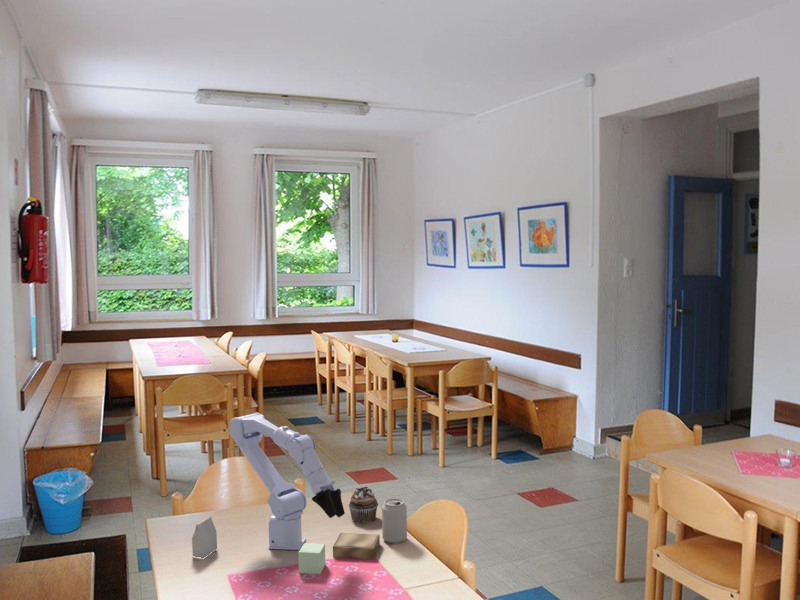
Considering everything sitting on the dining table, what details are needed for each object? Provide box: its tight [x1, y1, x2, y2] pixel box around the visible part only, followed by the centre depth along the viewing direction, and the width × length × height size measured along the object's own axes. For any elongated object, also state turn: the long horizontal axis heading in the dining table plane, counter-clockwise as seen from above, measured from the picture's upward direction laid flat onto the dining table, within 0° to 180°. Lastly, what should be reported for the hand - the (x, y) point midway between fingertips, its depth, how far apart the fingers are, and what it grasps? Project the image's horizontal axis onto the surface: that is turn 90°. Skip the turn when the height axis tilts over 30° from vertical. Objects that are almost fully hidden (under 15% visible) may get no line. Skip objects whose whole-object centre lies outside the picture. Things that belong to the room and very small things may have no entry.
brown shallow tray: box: [332, 532, 381, 560], centre depth 208 cm, size 12×10×3 cm
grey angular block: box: [191, 516, 218, 558], centre depth 207 cm, size 4×7×10 cm, turn 160°
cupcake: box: [348, 486, 379, 524], centre depth 233 cm, size 10×10×10 cm
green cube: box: [298, 542, 326, 575], centre depth 197 cm, size 6×6×6 cm
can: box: [381, 498, 408, 544], centre depth 215 cm, size 8×8×12 cm
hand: (337, 515), depth 199 cm, fingers open, 7 cm apart
